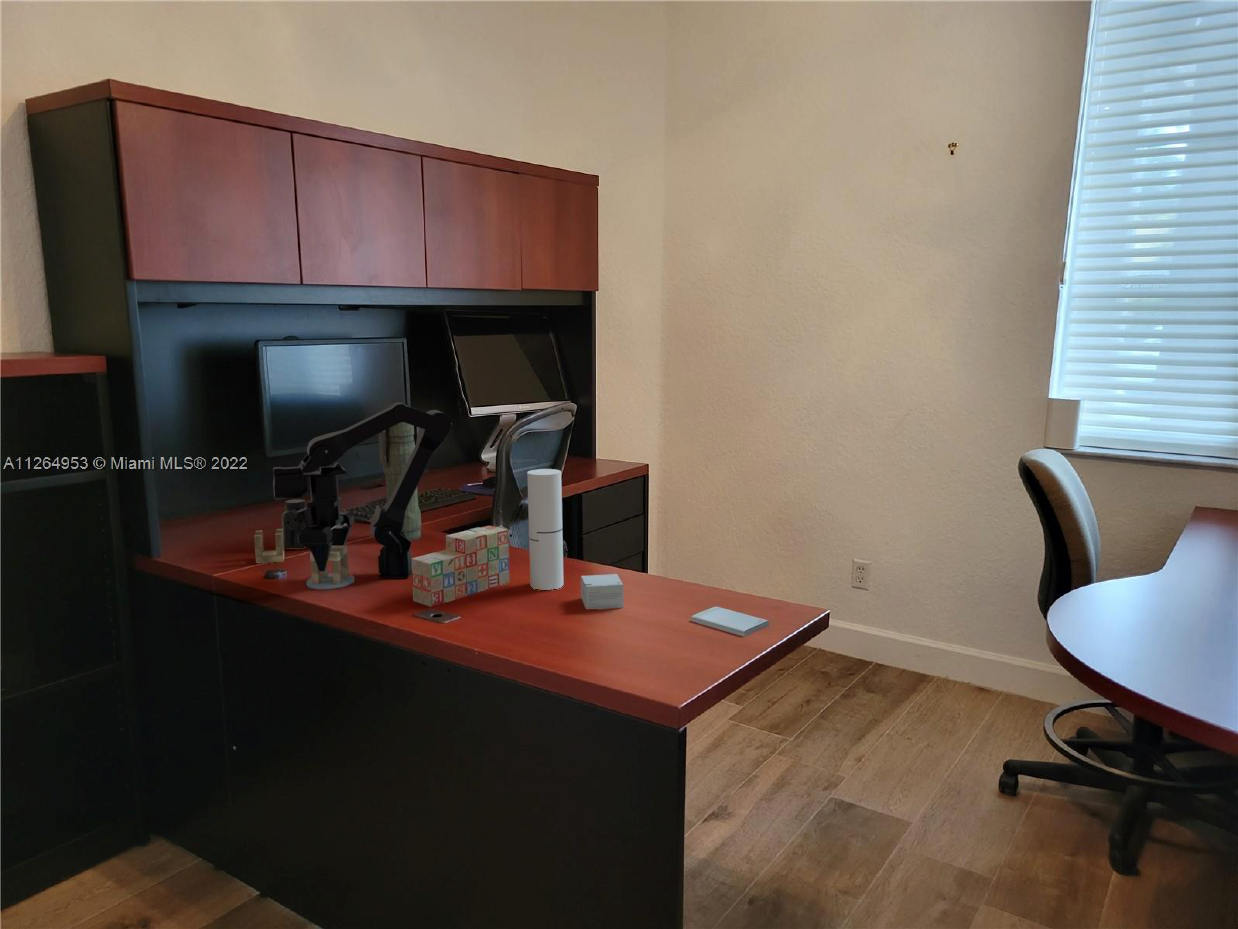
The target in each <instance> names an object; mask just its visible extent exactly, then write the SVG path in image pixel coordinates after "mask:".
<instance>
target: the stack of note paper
mask: <svg viewBox="0 0 1238 929" xmlns="http://www.w3.org/2000/svg"><path fill="white" fill-rule="evenodd" d="M620 578H621V577H619V575H618V574H617V573H611V574H609V573H608V574H593V575H581V576H580V590H581V591H580V593H581V594H580V596H581V597H580V598H581V601H582V603H583V606H584V608H585V610H586V609H597V610H609V609H611V608H612V609H623V608H625V605H624V604H625V602H624V601H625V599H624V583H623V582H622V580H621V579H620Z"/></svg>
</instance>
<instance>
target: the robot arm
mask: <svg viewBox="0 0 1238 929" xmlns="http://www.w3.org/2000/svg"><path fill="white" fill-rule="evenodd" d="M391 405H392V406H391V407H389V408H387V409H385V408H384V409H383V410H381V411H379V412H377V413H375V414H373V415H370V416H369V417H367V418H365V419H363V420H361V421H359V422H357V423H355V424H353V425H351V426H349V427H347V428H344V429H342V430H338V431H334V432H329V433H326V434H322V435H319V436H316V437H313V438H312V439H310V441H309V442H308V444H307V447H306V452H307V453H306V454H305V456H304V457H303V459H302V460H301V461H300V462H299V464H298V466H290V467H289V466H288V467H283V466H276V467H275V466H274V467H273V468H272V470H273V481H272V486H273V487H272V488H273V497H274V500H275V501H276V500H286V499H287V500H288V499H289V500H290V499H301V498H303V495H305V494H306V493H308V491H309V490H308V478H309V487H310V501H307V503H306V508H304V509H301V510H299V511H296V510H292V511H288V512H286V513H285V518H284V521H285V522H284V525H287V526H288V527H289V529H290V530H293V529H295V528H296V527H299V526H302V525H304V524H307V527H305V528H304V529H302V530H301V531H300V532H299V533H298V534H297V538H298V543H299V544H301V545H302V546H306V547H307V548H306V549H309V551H310V553H312V555H313V557H314V559H315V562H316V564H317V567H318V569H319V571H325V568H326V565H327V564H328V562H329V561H328V557H329V554H330V550H331V546H346V542H347V540H348V538H349V535H350V533H351V530H352V529H353V525H354V524H355V515H354V513H352V512H351V511H350V510H349V511H347V510H346V511H345V510H343V511H342V510H340V509H341V508H340V504H341V503H343V497H340V496H339V482H338V475H347V473H348V472H347V470H346V469H345V468H344V467H342V466H341V465H340V463H339V462H336V461H338V460H339V459H340V458H342V457H343V456H344V455H345V454H346V453H347V452H348V451H349V450H351V449H352V448H354V447H355V446H357V445H359V444H361V443H362V442H364V441H366V440H368V439H370V438H372V437H375V436H376V435H378V433H380V432H382V431H384V430H386V429H388V428H390V427H392V426H394V425H396V424H398V423H400V422H404V423H407V424H410V425H413V426H416V427H419V430H418V435H417V441H416V445H415V448H414V450H413V452H412V454H411V456H410V458H409V460H408V462H407V464H406V466H405V468H404V471H403V473H402V475H401V477H400V479H399V481H398V483H397V485H396V487H395V489H394V491H393V493H392V495H391V497H390V500H389V501H388V502H387V501H386V503H385V504H384V505H383V506H381V505H379V504H376V506H375V510H374V514H373V515H372V517H371V518H369V520H368V521H369V522H370V526H369V529H370V533H371V535H372V537H373V538H374V540H375V541H376V542H377V543H378V544H379V545H381V546H382V547H381V548H380V549H379V555H378V556H377V566H378V579H408V578H409V577H410V576H411V575H412V546H411V545H412V541H410V540H409V539H408V538H407V536H406V535H405V534H404V533H403V532H402V528H403V524H404V519H405V512H406V508H407V506H408V504H409V502H410V500H411V498H412V496H413V494H414V492H415V490H416V488H417V489H418V485H419V483H420V481H421V479H422V477H423V475H424V473H425V471H426V470H427V467H428V464H429V462H431V461H430V460H431V458H432V456H433V454H434V453H435V452H436V451H437V450H438V448H440V447H441V445H442V444H443V443H444V442H445V440H446V439H447V437H449V435H450V433H451V432H452V430H453V422H452V419H451V418H450V417H449V415H447V414H446V413H445V412H442V411H440V410H437V409H431V410H428V411H426V410H422V409H420V408H419V409H418V408H415V407H412V406H409V405H407V404H404V403H402V402H394V403H393V404H391ZM334 462H335V464H334V465H333V466H332V464H333V463H334ZM330 465H331V466H330ZM318 469H319V470H318Z"/></svg>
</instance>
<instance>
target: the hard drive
mask: <svg viewBox="0 0 1238 929" xmlns="http://www.w3.org/2000/svg"><path fill="white" fill-rule="evenodd" d="M690 622H693V623H697V624H700V625H703V626H706V627H709V628H713V629H716V630H720V631H724V632H726V633H730V634H733V635H737V636H740V637H747V636H749V635H752V634H753V633H756V632H757V631H761V629H762V630H763V628H766V627H768V626H770V620H768V619H765V618H761V617H756V616H753V615H749V614H746V613H741V612H738V611H734V610H731V609H728V608H723V607H720V606H713V607H711V608H708V609H705V610H702V611H700V612H698V613H695V614H693V615H692V616H691V617H690Z"/></svg>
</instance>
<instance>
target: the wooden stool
mask: <svg viewBox="0 0 1238 929" xmlns="http://www.w3.org/2000/svg"><path fill="white" fill-rule="evenodd" d="M309 556H310V558H309V559H310V571H311V578H312V584H320V583H321V578H327V577H328V574H329V565H328V563H327V565H326V568H325V571H319V569H318V567H317V564H316V562H315V559H314V557H313V555H312V553H311V552H310V553H309ZM348 559H349V558H348V546H347V545H344V546H331V550H330V554H329V557H328V561H327V562H331V569H332V572H331V574H333V584H340V583H342V578H347V577H348V576H349V575H350V574H349V560H348Z"/></svg>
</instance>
